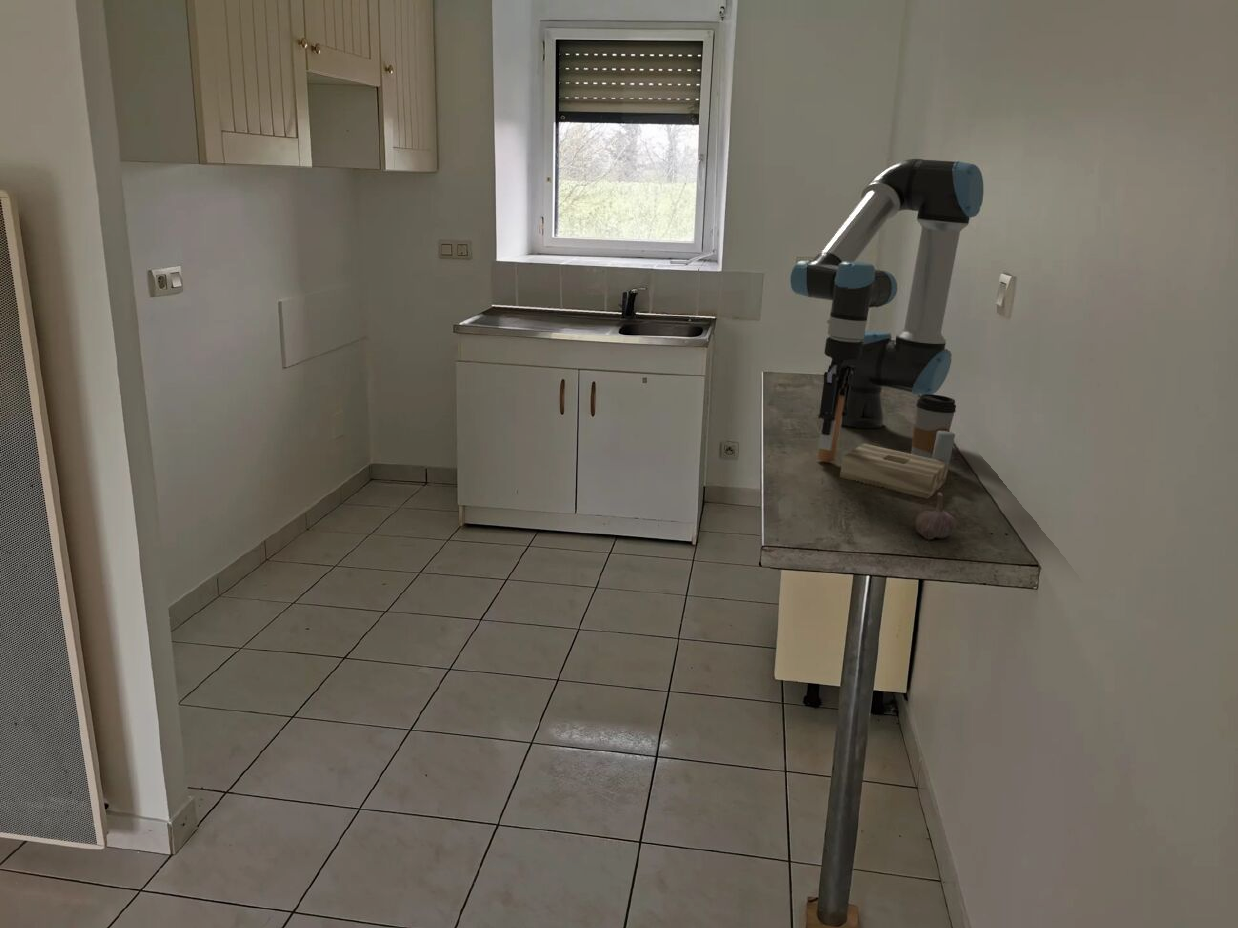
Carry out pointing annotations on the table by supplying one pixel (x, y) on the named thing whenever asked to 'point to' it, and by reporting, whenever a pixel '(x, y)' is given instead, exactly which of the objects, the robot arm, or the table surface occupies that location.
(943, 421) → the coffee cup
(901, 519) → the table surface
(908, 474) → the bore block
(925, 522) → the garlic bulb
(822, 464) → the table surface
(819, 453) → the tapered brown peg
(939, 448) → the grey dowel
